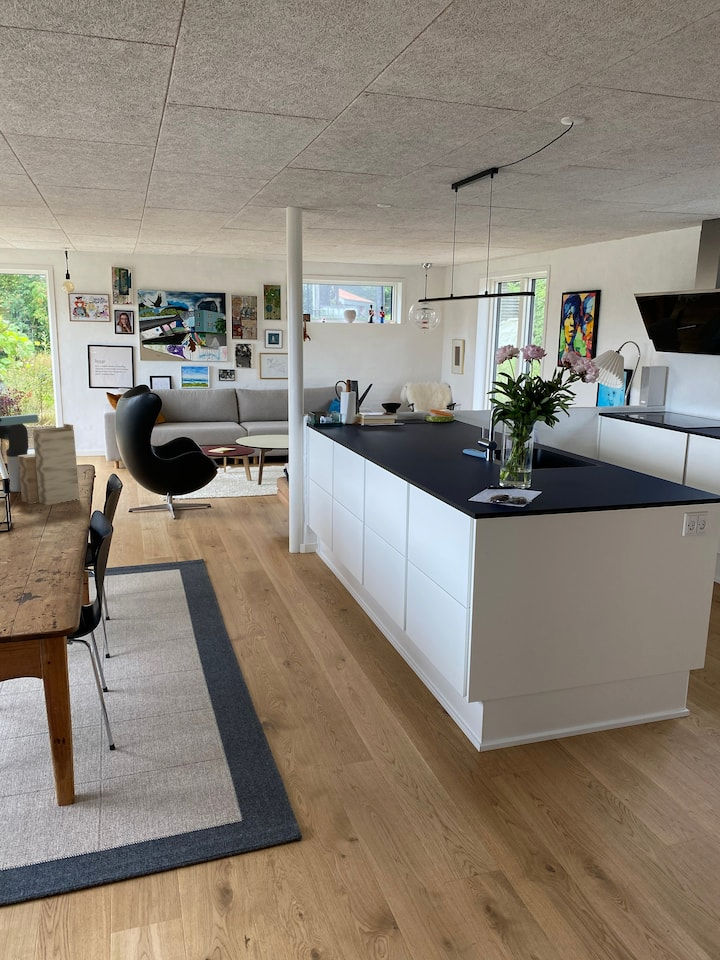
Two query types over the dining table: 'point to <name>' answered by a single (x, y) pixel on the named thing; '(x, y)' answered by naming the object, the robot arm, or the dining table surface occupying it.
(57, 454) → the birch stand
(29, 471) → the oak step
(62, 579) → the dining table surface
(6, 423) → the teal block
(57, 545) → the dining table surface
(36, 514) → the dining table surface
